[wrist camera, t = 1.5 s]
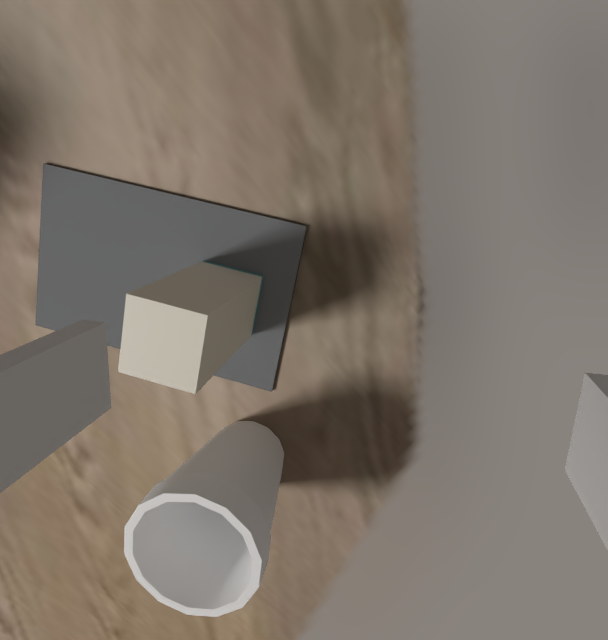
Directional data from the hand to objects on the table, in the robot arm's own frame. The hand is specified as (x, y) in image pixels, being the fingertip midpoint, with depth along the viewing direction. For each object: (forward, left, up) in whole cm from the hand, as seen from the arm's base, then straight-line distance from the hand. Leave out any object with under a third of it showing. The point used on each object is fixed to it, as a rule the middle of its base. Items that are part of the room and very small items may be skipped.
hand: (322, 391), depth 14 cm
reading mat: (-17, -6, -26) cm, 31 cm away
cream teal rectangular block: (-11, -6, -25) cm, 28 cm away
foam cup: (-6, -20, -26) cm, 33 cm away
